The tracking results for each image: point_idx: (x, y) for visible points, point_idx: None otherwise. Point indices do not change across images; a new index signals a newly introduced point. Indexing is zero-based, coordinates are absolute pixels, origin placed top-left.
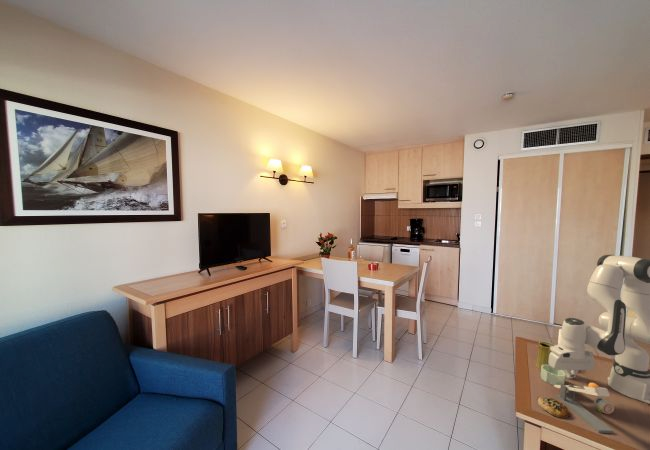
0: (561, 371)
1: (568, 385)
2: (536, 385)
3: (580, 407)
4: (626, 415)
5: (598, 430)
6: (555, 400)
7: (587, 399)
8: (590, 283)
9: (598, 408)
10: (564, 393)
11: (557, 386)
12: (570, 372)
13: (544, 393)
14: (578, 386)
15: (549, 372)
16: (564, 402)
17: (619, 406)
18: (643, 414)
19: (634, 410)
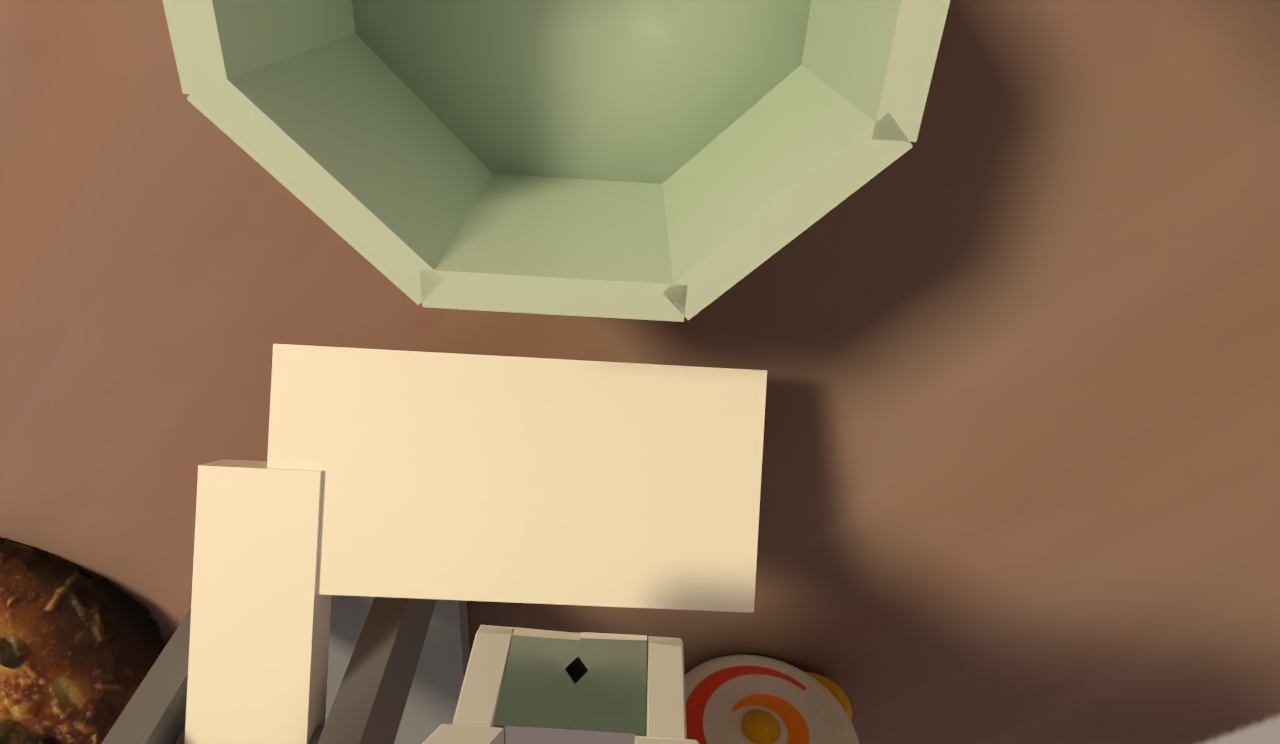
0: (892, 10)
1: (637, 378)
2: (3, 140)
3: (411, 695)
4: (970, 736)
5: None
6: (2, 699)
7: (773, 513)
8: None
9: None
10: None
11: (202, 534)
12: (612, 735)
13: (55, 379)
14: (755, 522)
15: (267, 116)
16: None
17: (1113, 628)
18: (1233, 727)
19: (1222, 681)
